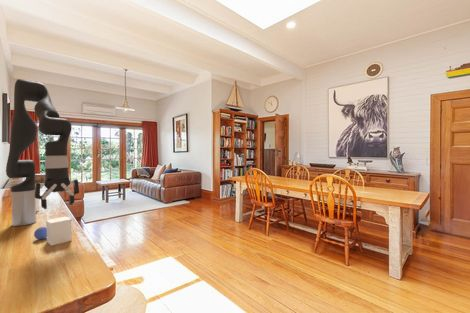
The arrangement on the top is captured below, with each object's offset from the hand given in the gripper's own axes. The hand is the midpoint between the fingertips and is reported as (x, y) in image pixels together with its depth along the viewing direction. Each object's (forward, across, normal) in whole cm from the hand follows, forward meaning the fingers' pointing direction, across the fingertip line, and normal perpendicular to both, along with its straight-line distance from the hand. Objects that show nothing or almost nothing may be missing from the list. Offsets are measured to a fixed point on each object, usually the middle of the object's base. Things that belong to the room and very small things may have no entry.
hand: (58, 206), depth 94 cm
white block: (+14, 0, 0) cm, 14 cm away
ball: (+12, +4, -9) cm, 15 cm away
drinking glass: (+14, -3, -76) cm, 77 cm away
